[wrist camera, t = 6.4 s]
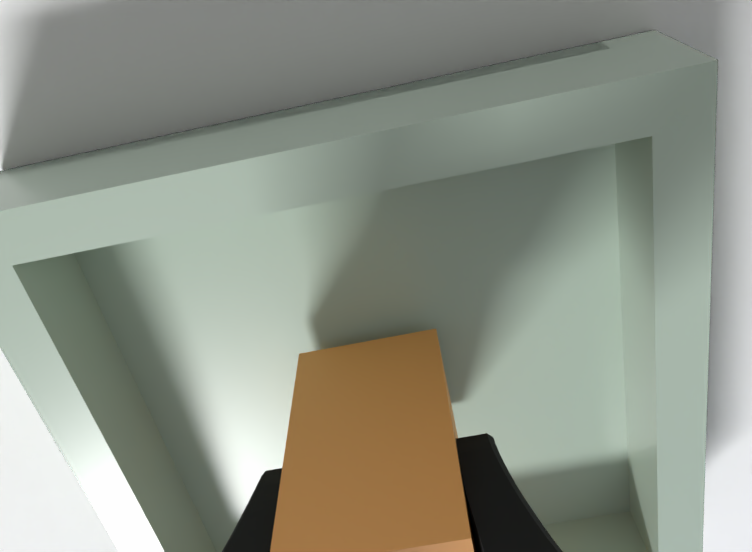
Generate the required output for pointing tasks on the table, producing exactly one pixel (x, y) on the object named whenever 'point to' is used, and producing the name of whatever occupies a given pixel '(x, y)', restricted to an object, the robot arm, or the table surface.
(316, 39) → the table surface
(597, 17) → the table surface
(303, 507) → the pin
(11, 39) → the table surface
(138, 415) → the tray
